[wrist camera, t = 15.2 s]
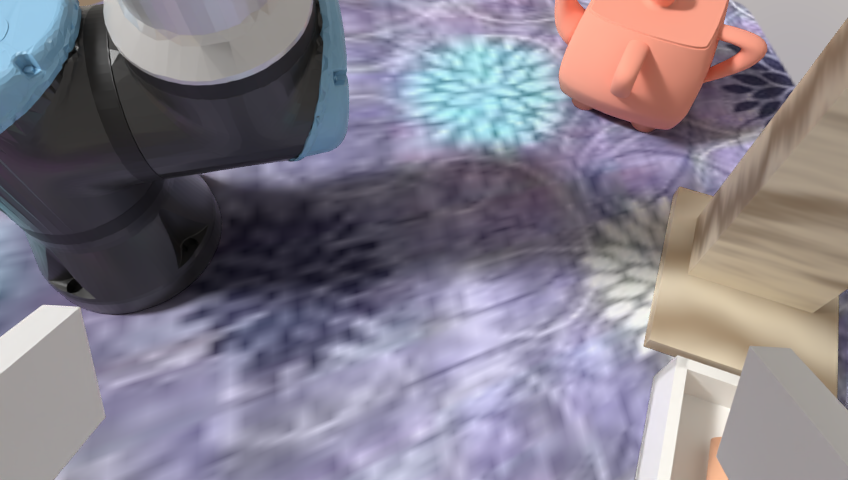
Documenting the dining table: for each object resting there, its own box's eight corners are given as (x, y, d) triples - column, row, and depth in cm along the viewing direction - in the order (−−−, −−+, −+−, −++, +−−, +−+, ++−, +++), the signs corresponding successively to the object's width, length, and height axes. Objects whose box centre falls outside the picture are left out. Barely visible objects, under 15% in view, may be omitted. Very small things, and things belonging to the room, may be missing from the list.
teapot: (727, 126, 60) (799, 18, 48) (589, 166, 57) (631, 62, 46) (643, 23, 68) (688, -90, 56) (519, 54, 65) (540, -58, 54)
